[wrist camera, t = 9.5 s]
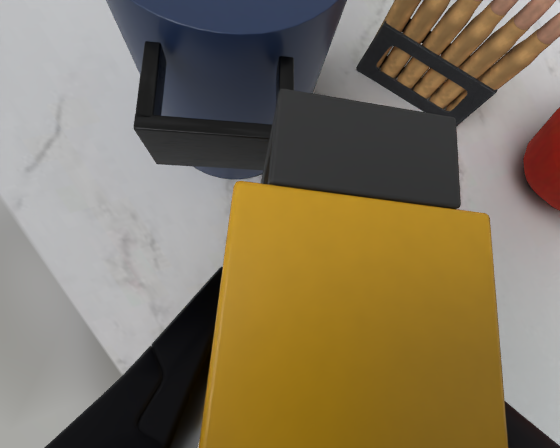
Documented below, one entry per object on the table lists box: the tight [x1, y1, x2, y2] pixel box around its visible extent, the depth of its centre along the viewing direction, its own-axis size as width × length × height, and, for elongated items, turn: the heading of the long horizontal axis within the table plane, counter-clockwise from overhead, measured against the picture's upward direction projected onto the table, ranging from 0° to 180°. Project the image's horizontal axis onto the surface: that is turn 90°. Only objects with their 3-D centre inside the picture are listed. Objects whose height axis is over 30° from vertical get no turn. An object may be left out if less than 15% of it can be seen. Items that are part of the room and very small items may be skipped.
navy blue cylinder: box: [106, 0, 347, 179], centre depth 18 cm, size 14×11×14 cm
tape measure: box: [199, 89, 508, 448], centre depth 10 cm, size 7×4×12 cm, turn 175°
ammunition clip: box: [356, 0, 560, 126], centre depth 22 cm, size 11×2×12 cm, turn 59°
